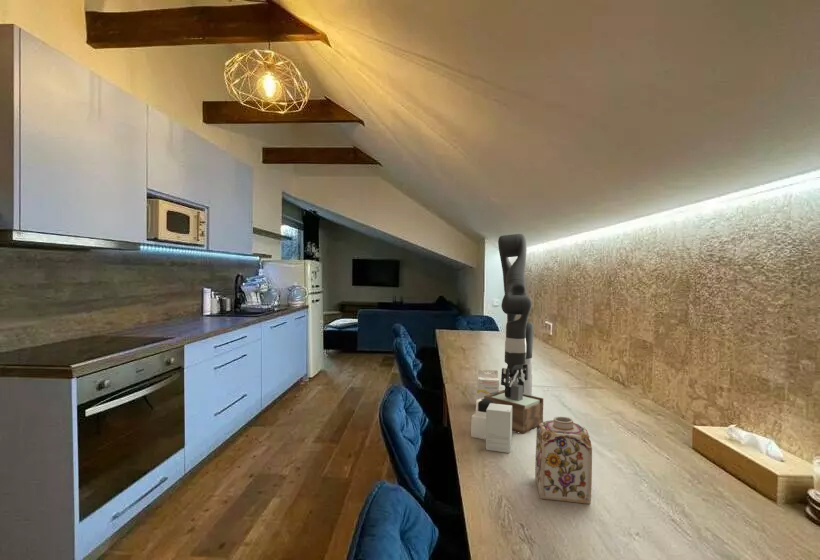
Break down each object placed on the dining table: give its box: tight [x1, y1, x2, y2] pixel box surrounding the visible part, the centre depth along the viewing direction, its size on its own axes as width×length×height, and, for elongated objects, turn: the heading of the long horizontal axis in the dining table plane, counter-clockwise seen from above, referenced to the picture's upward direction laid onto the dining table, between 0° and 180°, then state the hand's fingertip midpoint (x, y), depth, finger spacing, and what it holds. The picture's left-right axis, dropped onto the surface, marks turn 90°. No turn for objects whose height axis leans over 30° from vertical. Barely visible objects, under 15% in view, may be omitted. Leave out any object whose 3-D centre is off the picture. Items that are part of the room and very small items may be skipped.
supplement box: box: [485, 403, 513, 454], centre depth 135 cm, size 7×7×13 cm
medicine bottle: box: [470, 398, 494, 440], centre depth 145 cm, size 7×7×12 cm
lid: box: [493, 383, 540, 408], centre depth 158 cm, size 11×14×6 cm
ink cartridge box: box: [476, 369, 500, 400], centre depth 178 cm, size 9×5×15 cm, turn 84°
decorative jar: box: [534, 416, 593, 505], centre depth 109 cm, size 12×12×18 cm
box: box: [484, 389, 544, 435], centre depth 158 cm, size 14×16×10 cm
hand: (514, 394), depth 158 cm, fingers open, 8 cm apart
